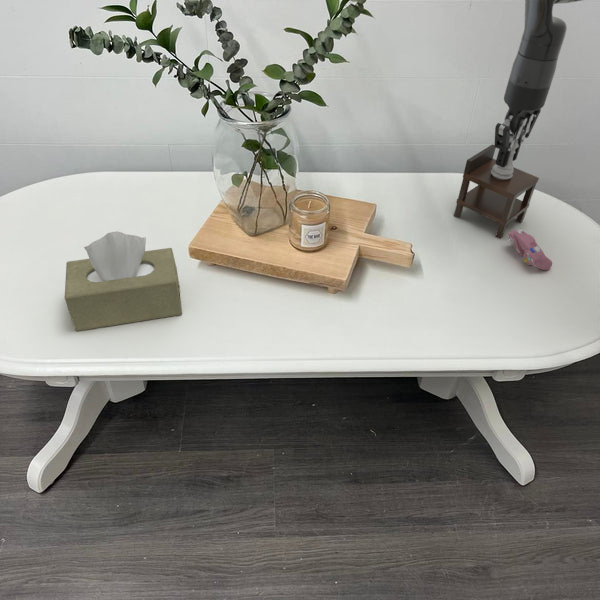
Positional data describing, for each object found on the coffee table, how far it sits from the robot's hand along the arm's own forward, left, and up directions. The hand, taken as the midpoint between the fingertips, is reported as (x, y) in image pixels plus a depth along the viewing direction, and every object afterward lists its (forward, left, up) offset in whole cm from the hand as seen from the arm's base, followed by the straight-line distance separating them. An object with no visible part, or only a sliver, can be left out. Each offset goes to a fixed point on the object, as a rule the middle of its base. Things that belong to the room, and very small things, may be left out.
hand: (505, 161), depth 118 cm
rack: (0, 0, -14) cm, 14 cm away
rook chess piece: (0, 0, -3) cm, 3 cm away
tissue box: (+31, +73, -14) cm, 80 cm away
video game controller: (-13, +7, -14) cm, 21 cm away
